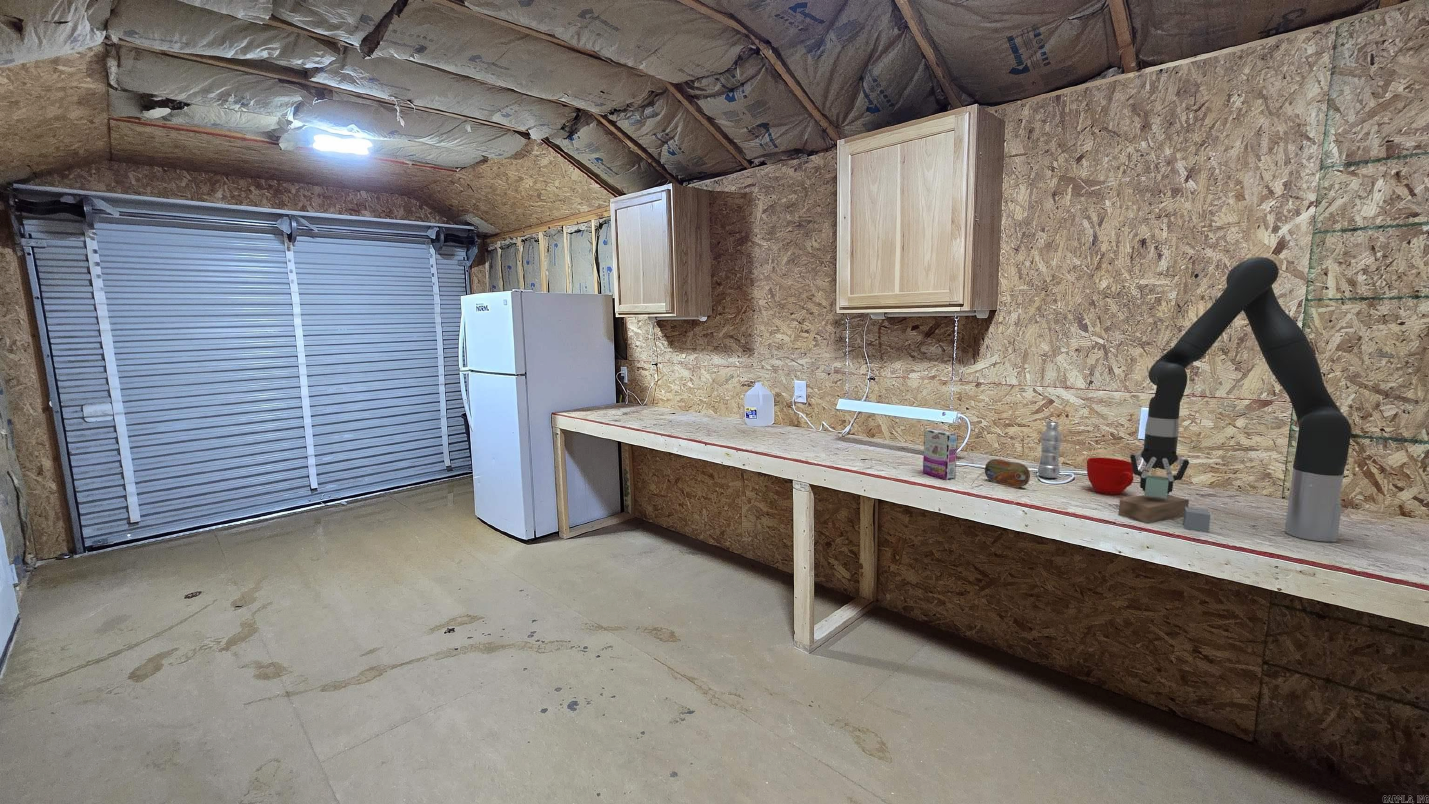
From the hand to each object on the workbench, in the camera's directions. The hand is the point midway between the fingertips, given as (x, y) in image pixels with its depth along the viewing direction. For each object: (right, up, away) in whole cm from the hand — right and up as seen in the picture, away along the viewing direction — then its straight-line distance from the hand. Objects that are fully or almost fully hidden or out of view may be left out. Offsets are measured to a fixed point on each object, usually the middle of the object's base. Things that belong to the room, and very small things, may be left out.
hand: (1155, 491), depth 172 cm
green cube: (0, -1, 0) cm, 1 cm away
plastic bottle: (-8, -1, +42) cm, 42 cm away
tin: (-27, -3, +33) cm, 42 cm away
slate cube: (+4, -9, -10) cm, 13 cm away
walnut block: (0, -7, +1) cm, 7 cm away
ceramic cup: (+2, -4, +22) cm, 23 cm away
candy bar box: (-46, -1, +44) cm, 63 cm away
